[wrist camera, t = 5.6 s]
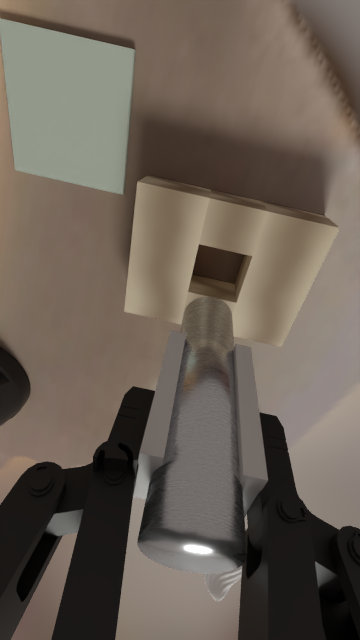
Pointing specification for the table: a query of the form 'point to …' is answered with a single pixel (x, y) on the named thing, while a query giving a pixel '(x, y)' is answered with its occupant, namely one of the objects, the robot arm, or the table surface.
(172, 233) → the block
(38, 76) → the mat
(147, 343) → the table surface
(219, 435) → the peg
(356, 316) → the table surface
